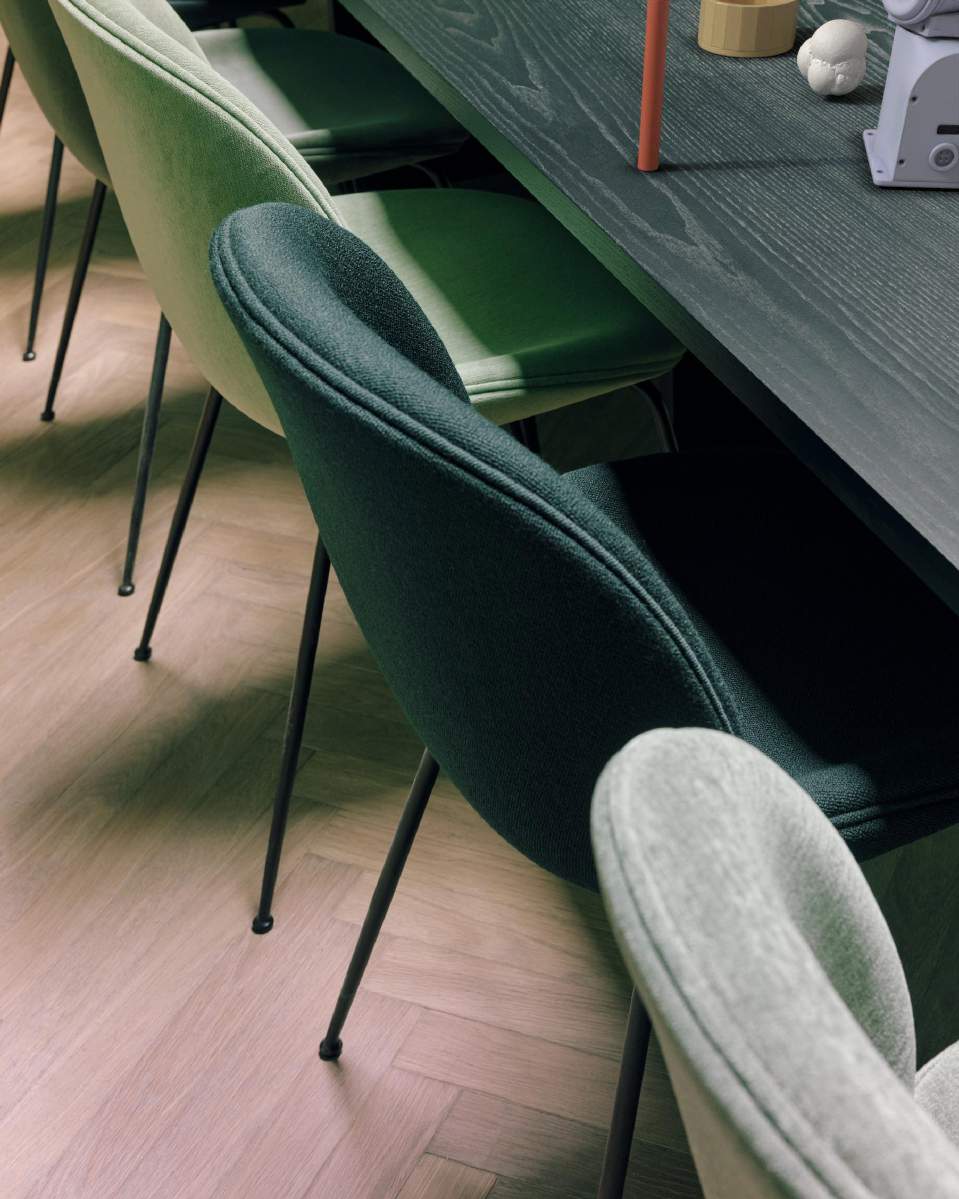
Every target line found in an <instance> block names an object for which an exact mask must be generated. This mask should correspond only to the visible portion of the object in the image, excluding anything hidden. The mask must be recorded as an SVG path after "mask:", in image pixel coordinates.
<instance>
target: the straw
mask: <svg viewBox="0 0 959 1199" xmlns="http://www.w3.org/2000/svg"><path fill="white" fill-rule="evenodd" d="M670 4H671V0H647V4H646V5H647V6H646V7H647V8H646V23H645V40H644V56H643V57H644V58H643V59H644V60H643V74H642V75H643V76H642V91H641V92H642V93H641V108H640V123H639V124H640V126H639V141H638V143H639V144H638V156H637V157H638V160H637V168H638V169H639V170H640V171H643V172H654V171H657V170H658V168H659V164H660V163H659V161H660V148H661V133H662V121H663V120H662V119H663V118H662V117H663V105H664V92H665V91H664V90H665V89H664V88H665V78H666V77H665V76H666V62H667V50H668V49H667V47H668V35H669V34H668V32H669V21H670V20H669V18H670Z"/></svg>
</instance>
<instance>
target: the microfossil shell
mask: <svg viewBox="0 0 959 1199" xmlns="http://www.w3.org/2000/svg"><path fill="white" fill-rule="evenodd" d="M867 51H868V38H867V34H866V32H865V30H864V28H863V27H862V26H861V25H859V24H858V23H856V22H854V21H852V20H849V19H842V18H841V19H839V18H838V19H832V20H829V21H827V22H824V23H823V24H822V25H821V26H820V27H819V28H817V29H816V30H815V32H814V33H813V34H812V37H809V38H808V39H807V40H805V41H804V42H803V44H802V45H801V46H800V47H799V50H798V53H797V57H796V64H797V67H798V70H799V72H800V74H801V75H802V77H803V78H804V79H806V80H807V81H808V84H809V87H810V88H811V90H812V91H813V92H815V93H816V94H818V95H821V96H829V95H832V96H843V95H847V94H849V93H851V92H853V91H854V90H855V89H856V88H858V87H859V86H860V84H861V83H862V82H863V80H864V77H865V75H866V70H867V61H866V54H867Z"/></svg>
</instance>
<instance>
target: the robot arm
mask: <svg viewBox="0 0 959 1199" xmlns="http://www.w3.org/2000/svg"><path fill="white" fill-rule="evenodd" d="M881 2H882V4H883V7H884V9H885V11H886V13H887V19H888V21H890V22H893V23H895V24H896V25H895V32H894V36H893V42H892V47H891V52H890V57H889V63H888V67H887V68H888V69H887V74H886V79H885V84H884V89H883V96H882V99H881V100H882V101H881V105H880V106H881V107H880V112H879V117H878V122H877V128H873V129H872V128H871V129H870V128H868V129H865V130H863V132H862V140H863V144H864V146H865V147H864V148H865V151H866V152H865V153H866V157H867V162H868V164H869V169H870V173H871V178H872V182H873V184H874V185H876V186H877V187H878V186H879V187H894V188H895V187H898V188H899V187H901V188H902V187H903V188H929V189H959V0H881Z"/></svg>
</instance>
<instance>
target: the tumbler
mask: <svg viewBox="0 0 959 1199" xmlns="http://www.w3.org/2000/svg"><path fill="white" fill-rule="evenodd" d="M800 3H801V0H700V9H699V19H698V30H697V31H698V32H697V44H698V46H699V48H701V49H702V50H704V51H707V52H709V53H712V54H716V55H720V56H726V57H732V58H763V57H765V58H766V57H773V56H777V55H780V54H784V53H787V52H788V51H790V50H791V49H793V47H794V44H795V39H796V33H797V26H798V20H799V19H798V18H799V12H800V5H801V4H800Z"/></svg>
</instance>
